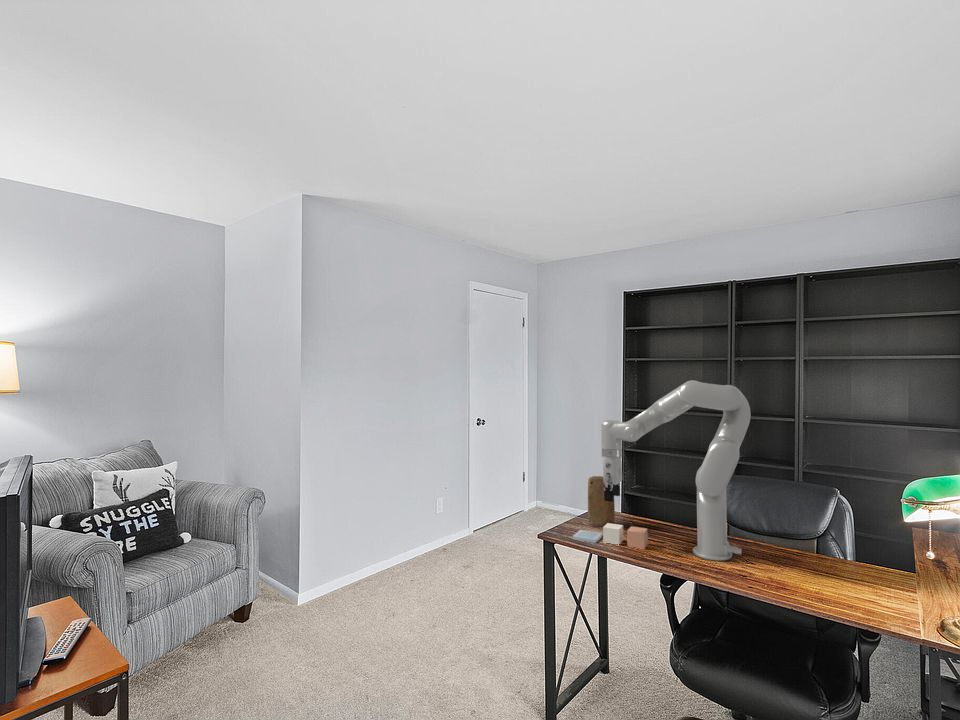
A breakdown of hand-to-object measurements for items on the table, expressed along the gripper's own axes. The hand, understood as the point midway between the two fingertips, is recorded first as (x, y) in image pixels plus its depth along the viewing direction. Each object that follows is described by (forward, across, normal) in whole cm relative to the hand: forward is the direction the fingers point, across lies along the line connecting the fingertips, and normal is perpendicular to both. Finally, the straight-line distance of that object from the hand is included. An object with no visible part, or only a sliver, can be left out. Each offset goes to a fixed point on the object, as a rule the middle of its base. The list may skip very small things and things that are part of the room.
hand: (612, 498), depth 196 cm
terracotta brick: (+16, 0, -9) cm, 19 cm away
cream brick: (+16, 0, 0) cm, 16 cm away
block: (+16, +19, +10) cm, 27 cm away
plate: (+16, 0, +10) cm, 19 cm away
